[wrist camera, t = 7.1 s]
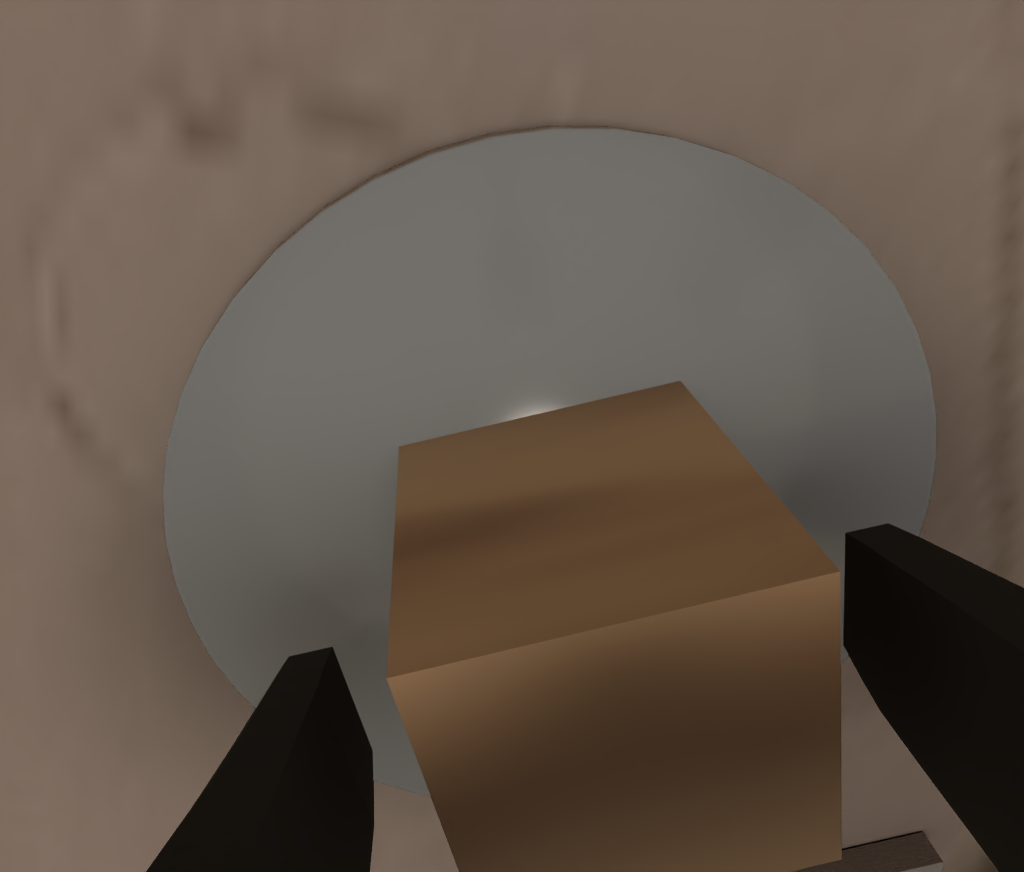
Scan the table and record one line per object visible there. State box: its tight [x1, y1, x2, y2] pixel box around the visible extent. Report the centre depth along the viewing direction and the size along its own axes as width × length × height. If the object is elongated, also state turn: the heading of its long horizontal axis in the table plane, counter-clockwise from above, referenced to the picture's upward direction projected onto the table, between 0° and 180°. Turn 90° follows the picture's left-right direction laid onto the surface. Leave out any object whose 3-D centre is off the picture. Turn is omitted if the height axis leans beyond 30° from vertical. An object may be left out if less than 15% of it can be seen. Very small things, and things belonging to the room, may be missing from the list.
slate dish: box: [163, 126, 936, 796], centre depth 13 cm, size 13×13×1 cm
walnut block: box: [386, 381, 842, 872], centre depth 10 cm, size 4×4×5 cm
